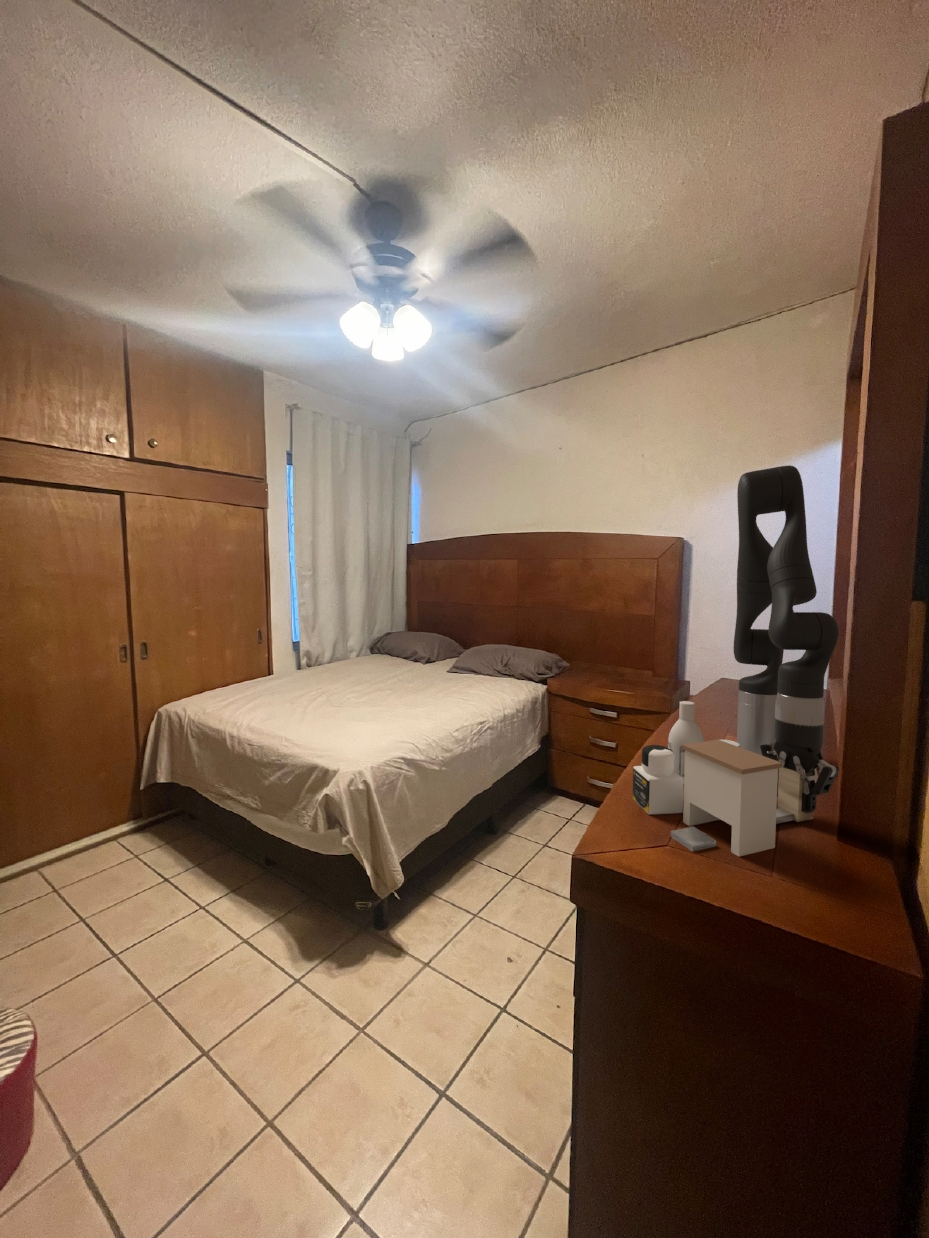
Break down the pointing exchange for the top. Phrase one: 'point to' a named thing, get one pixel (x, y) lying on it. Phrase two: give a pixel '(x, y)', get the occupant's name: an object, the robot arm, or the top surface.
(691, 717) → the bath foam
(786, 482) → the robot arm
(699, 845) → the plate
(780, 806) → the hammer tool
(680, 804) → the medicine bottle
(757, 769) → the cabinet
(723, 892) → the top surface
